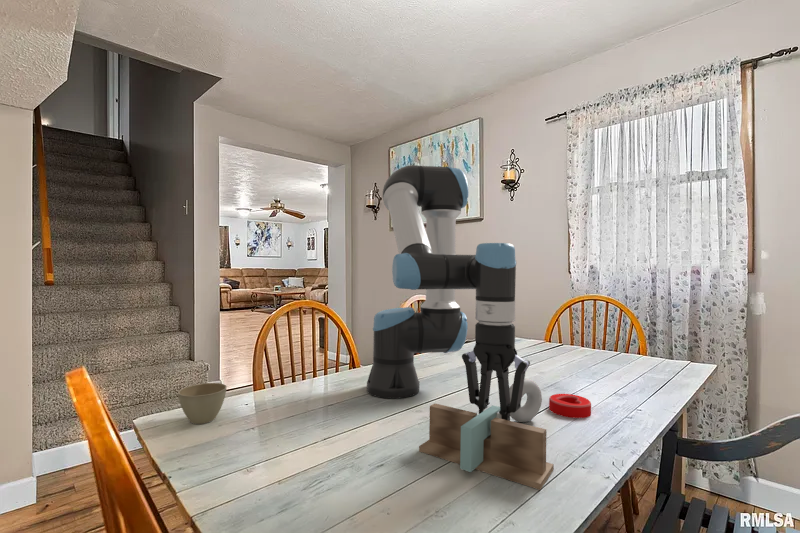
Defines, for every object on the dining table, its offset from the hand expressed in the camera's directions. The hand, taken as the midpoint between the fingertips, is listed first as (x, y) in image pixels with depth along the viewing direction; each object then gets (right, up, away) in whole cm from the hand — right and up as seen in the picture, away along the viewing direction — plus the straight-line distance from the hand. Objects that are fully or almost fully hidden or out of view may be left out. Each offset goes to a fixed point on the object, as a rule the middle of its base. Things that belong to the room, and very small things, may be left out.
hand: (494, 443), depth 79 cm
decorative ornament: (+24, -2, +22) cm, 33 cm away
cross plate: (-3, 0, -5) cm, 6 cm away
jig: (-3, -1, -4) cm, 5 cm away
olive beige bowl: (-64, -1, +14) cm, 65 cm away
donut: (+10, -2, +15) cm, 18 cm away
